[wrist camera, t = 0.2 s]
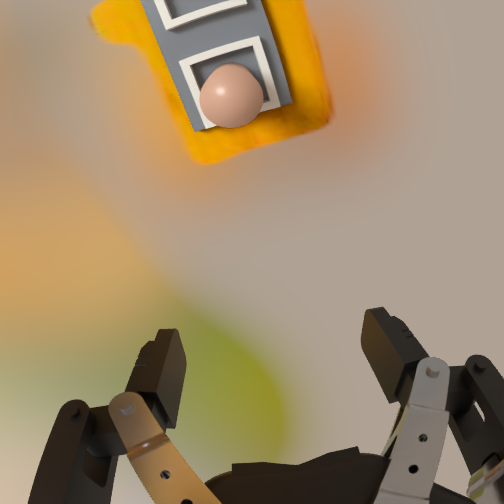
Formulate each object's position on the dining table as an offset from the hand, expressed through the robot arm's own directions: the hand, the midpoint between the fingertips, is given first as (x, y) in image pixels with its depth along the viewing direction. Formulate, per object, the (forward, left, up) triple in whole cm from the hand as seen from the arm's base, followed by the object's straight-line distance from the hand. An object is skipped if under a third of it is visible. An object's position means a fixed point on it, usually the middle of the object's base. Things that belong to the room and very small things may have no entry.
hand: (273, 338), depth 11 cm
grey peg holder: (-11, +7, -31) cm, 34 cm away
